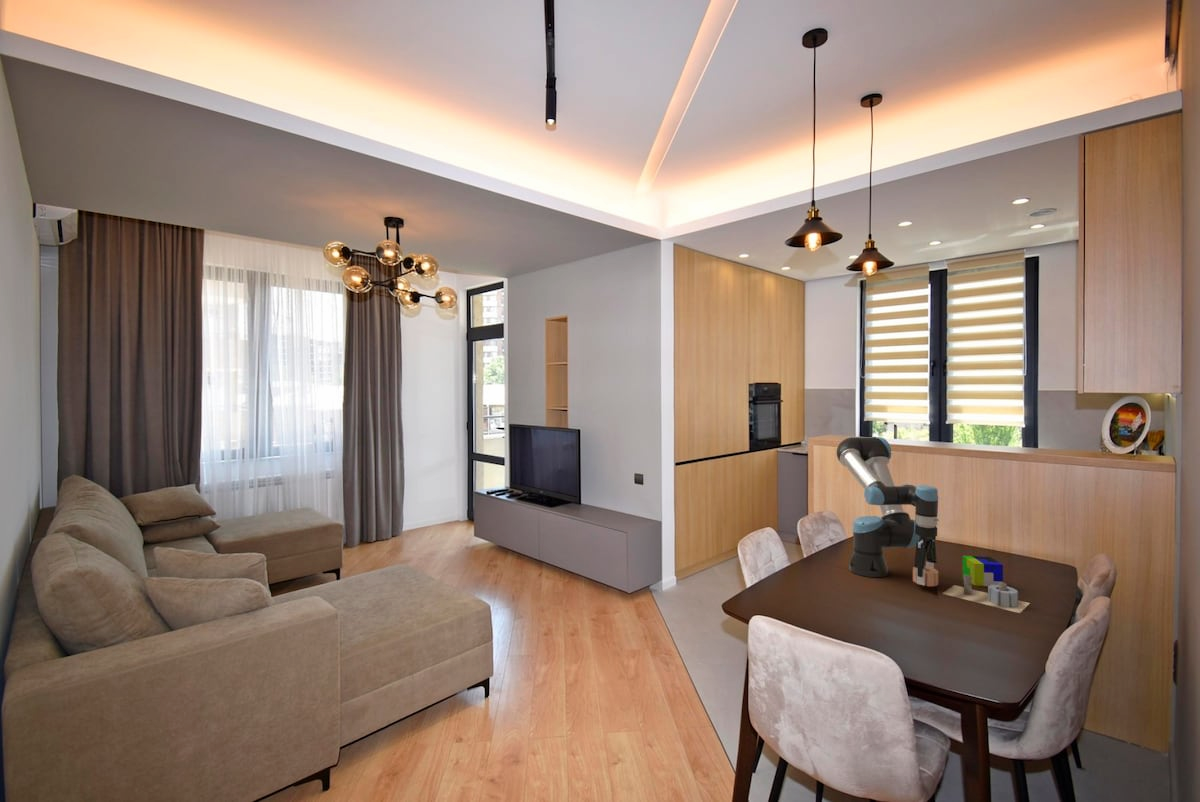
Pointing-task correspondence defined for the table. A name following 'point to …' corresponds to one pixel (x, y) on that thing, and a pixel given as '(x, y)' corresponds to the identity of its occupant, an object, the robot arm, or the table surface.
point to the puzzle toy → (983, 570)
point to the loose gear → (927, 576)
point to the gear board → (981, 595)
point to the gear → (1003, 596)
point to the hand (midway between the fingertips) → (925, 581)
